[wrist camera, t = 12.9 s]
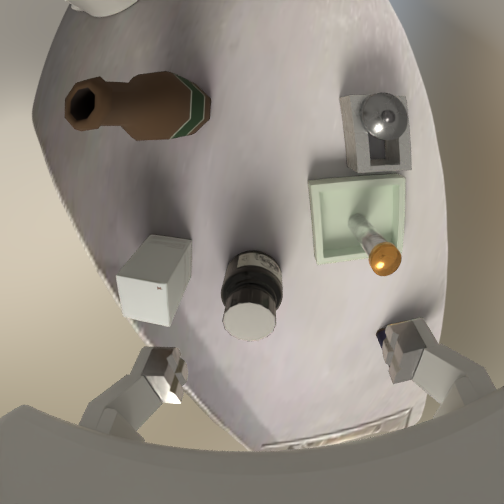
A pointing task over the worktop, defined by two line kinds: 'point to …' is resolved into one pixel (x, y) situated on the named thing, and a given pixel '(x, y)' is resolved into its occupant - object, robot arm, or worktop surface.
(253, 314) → the ink bottle
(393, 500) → the robot arm
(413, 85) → the worktop surface
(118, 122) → the beer bottle
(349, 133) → the block
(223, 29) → the worktop surface
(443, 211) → the worktop surface
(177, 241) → the supplement box
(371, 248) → the pin
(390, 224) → the tray
